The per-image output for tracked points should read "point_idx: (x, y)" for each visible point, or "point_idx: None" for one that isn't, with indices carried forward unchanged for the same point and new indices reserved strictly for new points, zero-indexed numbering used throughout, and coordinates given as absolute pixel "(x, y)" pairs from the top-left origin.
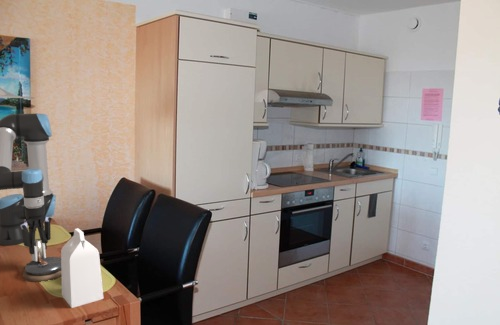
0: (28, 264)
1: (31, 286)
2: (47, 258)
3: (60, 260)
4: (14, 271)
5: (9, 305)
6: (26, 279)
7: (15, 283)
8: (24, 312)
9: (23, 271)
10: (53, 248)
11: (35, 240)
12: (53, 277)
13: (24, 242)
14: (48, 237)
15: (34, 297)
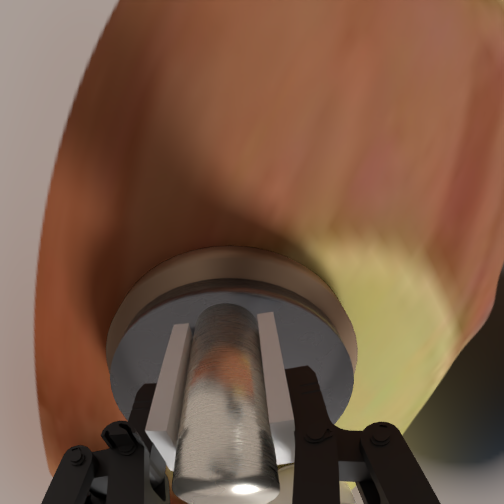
0: (138, 344)
1: (126, 419)
2: (293, 338)
3: None
4: (100, 189)
5: (55, 451)
6: None
7: (73, 352)
8: None
9: (113, 322)
10: (465, 20)
11: (205, 486)
12: None
13: (61, 492)
14: (366, 490)
15: None
